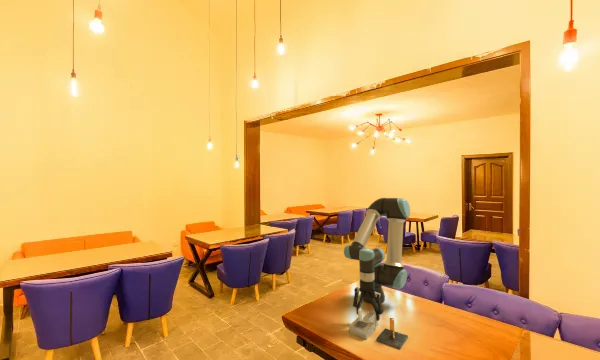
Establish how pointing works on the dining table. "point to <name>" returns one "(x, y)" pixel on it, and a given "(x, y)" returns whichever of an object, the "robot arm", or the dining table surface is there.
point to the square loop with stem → (363, 326)
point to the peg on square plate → (392, 336)
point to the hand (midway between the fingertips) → (368, 323)
